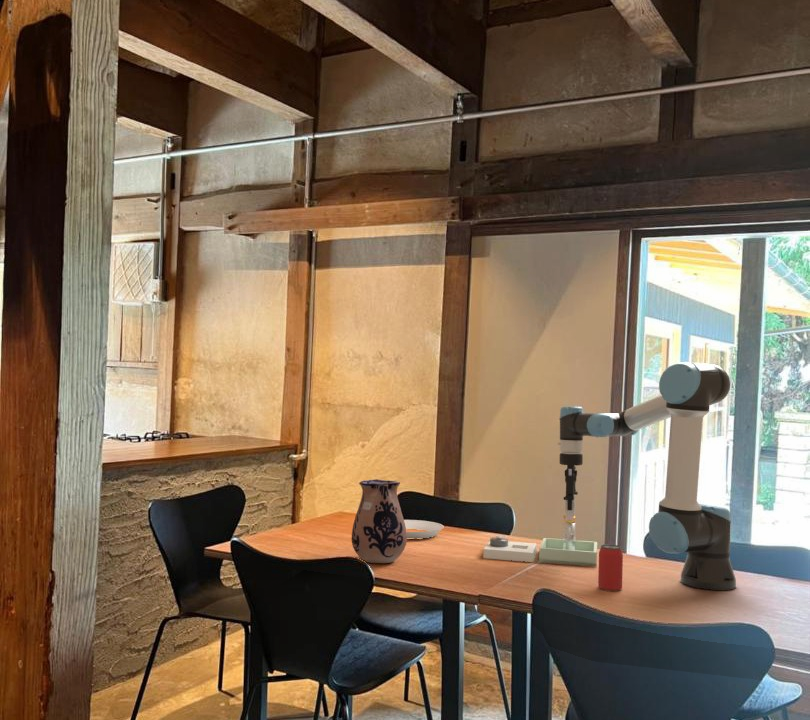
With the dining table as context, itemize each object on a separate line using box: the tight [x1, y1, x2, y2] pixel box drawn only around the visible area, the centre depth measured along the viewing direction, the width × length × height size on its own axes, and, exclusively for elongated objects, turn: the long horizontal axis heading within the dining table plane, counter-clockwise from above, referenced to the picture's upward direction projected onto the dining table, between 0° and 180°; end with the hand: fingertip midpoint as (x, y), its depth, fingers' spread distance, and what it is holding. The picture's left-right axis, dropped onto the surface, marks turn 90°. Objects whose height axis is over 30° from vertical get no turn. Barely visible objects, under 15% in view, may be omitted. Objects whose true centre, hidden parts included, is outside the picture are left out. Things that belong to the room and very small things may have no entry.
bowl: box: [404, 519, 444, 539], centre depth 296 cm, size 25×25×4 cm
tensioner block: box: [482, 535, 538, 563], centre depth 265 cm, size 16×16×6 cm
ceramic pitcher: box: [351, 478, 408, 564], centre depth 253 cm, size 18×21×25 cm
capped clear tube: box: [562, 515, 577, 550], centre depth 262 cm, size 4×4×13 cm
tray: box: [538, 537, 598, 567], centre depth 262 cm, size 18×18×4 cm
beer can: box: [597, 543, 624, 592], centre depth 224 cm, size 7×7×12 cm
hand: (570, 517), depth 262 cm, fingers open, 13 cm apart
